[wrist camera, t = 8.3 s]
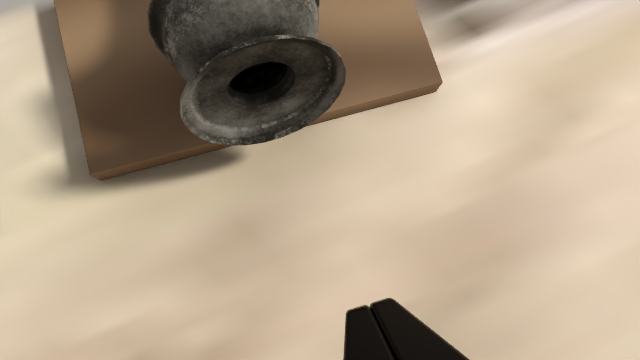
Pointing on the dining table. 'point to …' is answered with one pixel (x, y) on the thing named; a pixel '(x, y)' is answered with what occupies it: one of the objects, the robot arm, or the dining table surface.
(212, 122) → the dark grey tall piece
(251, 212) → the dining table surface
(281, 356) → the dining table surface
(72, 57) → the walnut board
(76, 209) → the dining table surface
